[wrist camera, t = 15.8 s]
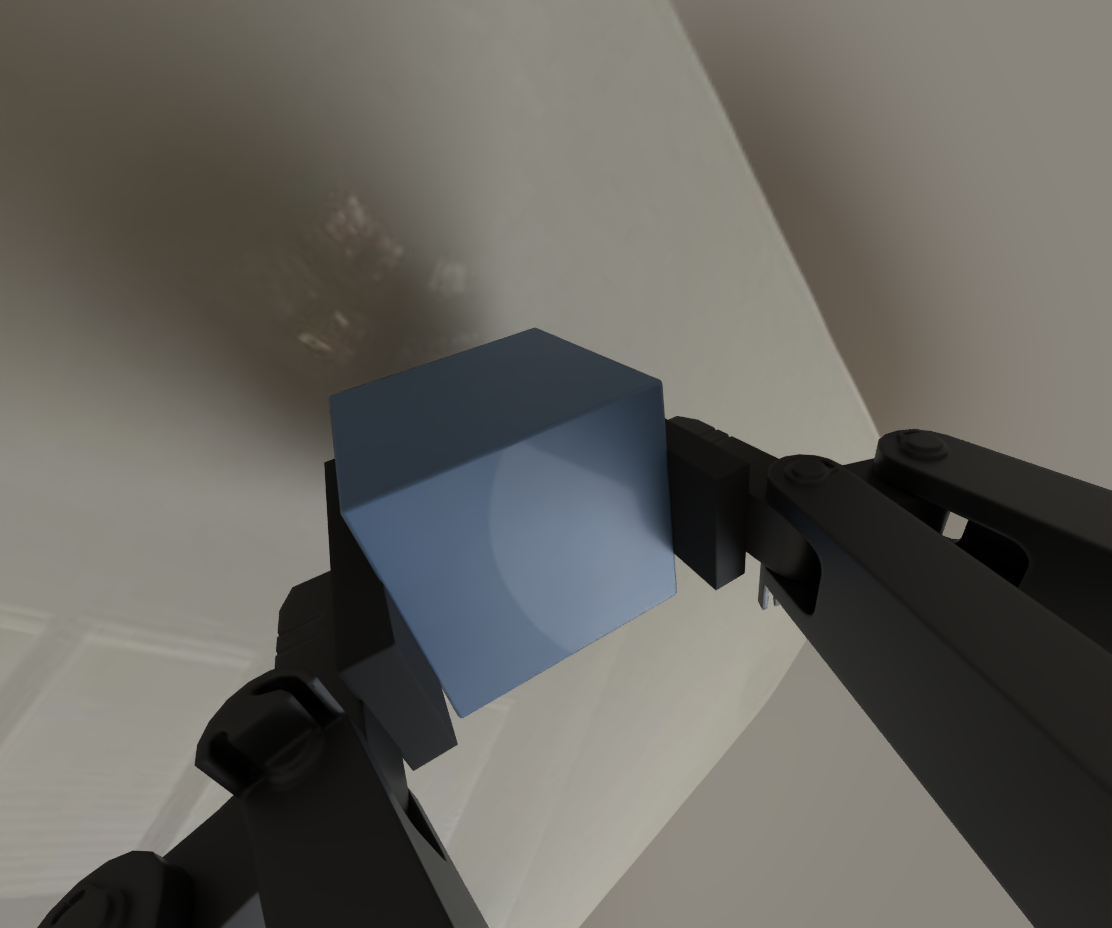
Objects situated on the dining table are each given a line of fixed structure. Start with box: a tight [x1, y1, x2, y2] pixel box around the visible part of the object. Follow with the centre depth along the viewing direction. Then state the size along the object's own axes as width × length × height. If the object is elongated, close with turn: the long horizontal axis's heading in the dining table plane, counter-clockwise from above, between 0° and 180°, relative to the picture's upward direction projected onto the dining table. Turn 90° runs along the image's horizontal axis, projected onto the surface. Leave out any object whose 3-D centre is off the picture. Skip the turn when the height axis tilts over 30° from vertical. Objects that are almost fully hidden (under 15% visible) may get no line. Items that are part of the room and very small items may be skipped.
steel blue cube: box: [329, 328, 677, 718], centre depth 11 cm, size 6×6×6 cm
